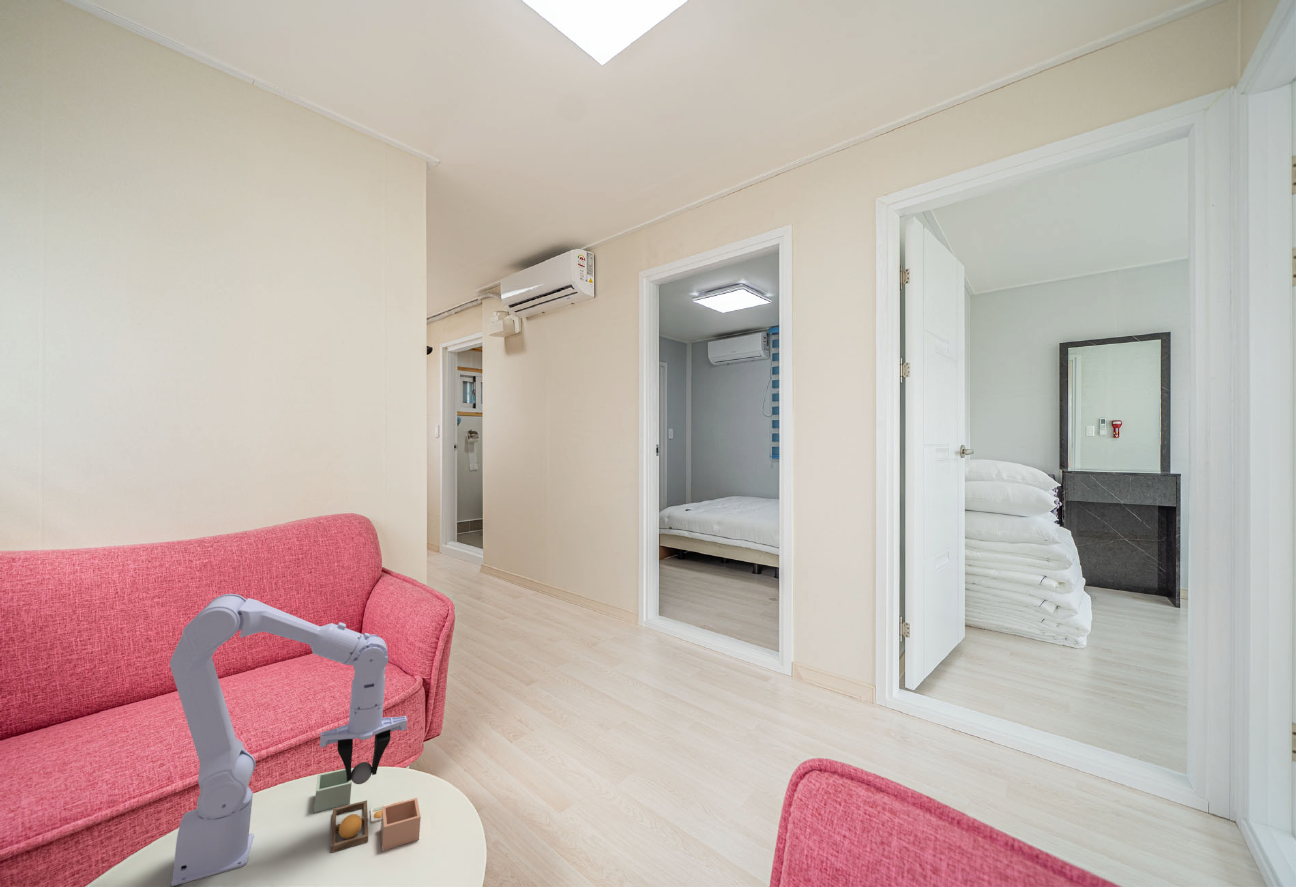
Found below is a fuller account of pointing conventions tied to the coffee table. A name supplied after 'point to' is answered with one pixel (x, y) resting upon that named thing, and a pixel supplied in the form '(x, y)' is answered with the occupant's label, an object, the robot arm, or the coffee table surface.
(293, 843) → the coffee table surface
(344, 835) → the orange ball
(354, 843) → the rack
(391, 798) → the coffee table surface
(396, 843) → the pink open box
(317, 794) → the sage open box
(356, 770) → the grey ball
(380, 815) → the card
